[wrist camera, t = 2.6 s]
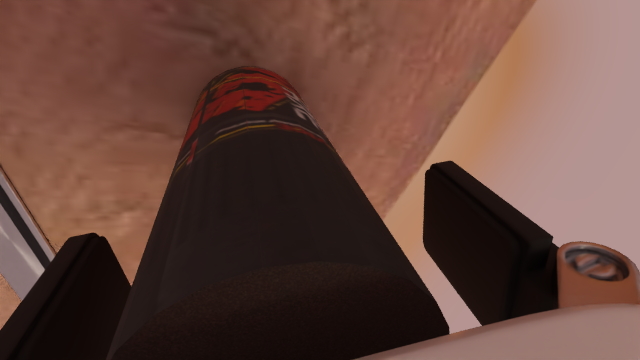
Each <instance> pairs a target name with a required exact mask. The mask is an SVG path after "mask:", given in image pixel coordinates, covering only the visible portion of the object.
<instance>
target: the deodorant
mask: <svg viewBox="0 0 640 360" xmlns="http://www.w3.org/2000/svg"><path fill="white" fill-rule="evenodd" d="M445 335H449V326H448V324H447V322H446V320H445V318H444V316H443V314H442V312H441V310H440V308H439V306H438V304H437V302H436V301H435V299H434V297H433V296H432V294H431V293H430V291H429V290H428V288H427V287H426V286H425V284H424V283H423V281H422V279H421V278H420V276H419V275H418V274H417V272H416V270H415V269H414V267H413V266H412V264H411V263H410V262H409V260H408V258H407V257H406V255H405V254H404V252H403V251H402V250H401V248H400V246H399V245H398V243H397V242H396V240H395V239H394V237H393V236H392V235H391V233H390V231H389V230H388V228H387V227H386V225H385V224H384V222H383V221H382V219H381V218H380V216H379V215H378V213H377V212H376V210H375V209H374V207H373V206H372V204H371V203H370V201H369V200H368V198H367V197H366V195H365V194H364V192H363V191H362V189H361V188H360V186H359V185H358V183H357V182H356V180H355V179H354V177H353V176H352V174H351V173H350V171H349V170H348V168H347V167H346V165H345V164H344V162H343V161H342V159H341V158H340V156H339V155H338V153H337V152H336V150H335V149H334V147H333V146H332V144H331V143H330V141H329V140H328V138H327V137H326V135H325V134H324V132H323V131H322V129H321V128H320V126H319V125H318V123H317V122H316V120H315V119H314V117H313V116H312V114H311V113H310V111H309V110H308V108H307V107H306V105H305V104H304V102H303V101H302V99H301V98H300V96H299V95H298V93H297V92H296V90H295V89H294V88H293V87H292V86H291V85H290V84H289V83H288V82H287V81H286V80H285V79H284V78H283V77H281V76H279V75H278V74H276V73H274V72H272V71H270V70H266V69H263V68H259V67H239V68H235V69H231V70H228V71H225V72H224V73H222V74H220V75H219V76H217V77H215V78H214V79H213V80H212V81H211V82H210V83H209V84H208V85H207V86H206V87H205V88H204V89H203V91H202V93H201V95H200V97H199V99H198V101H197V103H196V106H195V109H194V112H193V115H192V117H191V120H190V123H189V126H188V129H187V132H186V134H185V137H184V140H183V143H182V146H181V149H180V151H179V154H178V157H177V160H176V163H175V166H174V168H173V171H172V174H171V177H170V180H169V183H168V185H167V188H166V191H165V194H164V197H163V200H162V202H161V205H160V208H159V211H158V214H157V217H156V219H155V222H154V225H153V228H152V231H151V234H150V236H149V239H148V242H147V245H146V248H145V250H144V253H143V256H142V259H141V262H140V265H139V267H138V270H137V273H136V276H135V279H134V282H133V284H132V287H131V290H130V293H129V296H128V299H127V301H126V304H125V307H124V310H123V313H122V316H121V318H120V321H119V324H118V327H117V330H116V333H115V335H114V338H113V341H112V344H111V347H110V350H109V352H108V355H107V358H106V360H353V359H357V358H361V357H365V356H368V355H372V354H376V353H380V352H384V351H388V350H391V349H395V348H399V347H403V346H407V345H411V344H414V343H418V342H422V341H426V340H430V339H433V338H437V337H441V336H445Z"/></svg>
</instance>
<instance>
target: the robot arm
mask: <svg viewBox="0 0 640 360" xmlns="http://www.w3.org/2000/svg"><path fill="white" fill-rule="evenodd" d="M423 223H424V224H423V243H424V247H425V249H426V251H427V253H428V254H429V255H430V257H431V258H432V259H433V261H434V262H435V263H436V265H437V266H438V267H439V269H440V270H441V271H442V273H443V274H444V275H445V276H446V278H447V279H448V281H449V282H450V283H451V285H452V286H453V287H454V289H455V290H456V291H457V293H458V294H459V295H460V297H461V298H462V299H463V301H464V302H465V303H466V305H467V306H468V308H469V309H470V310H471V312H472V313H473V314H474V316H475V317H476V318H477V320H478V321H479V322H480V324H481V325H482V326H480V327H476V328H472V329H468V330H464V331H460V332H456V333H453V334H449V335H445V336H441V337H437V338H433V339H430V340H426V341H422V342H418V343H414V344H411V345H407V346H403V347H399V348H395V349H391V350H388V351H384V352H380V353H376V354H372V355H368V356H365V357H361V358H357V359H353V360H640V272H639V270H638V269H637V267H636V265H635V264H634V263H633V262H632V261H631V260H630V259H629V258H628V257H626V256H625V255H623V254H621V253H620V252H618V251H616V250H613V249H611V248H609V247H606V246H603V245H600V244H596V243H590V242H581V241H580V242H570V243H567V244H564V245H562V246H561V247H560V248H559V247H557V246H556V245H555V244H553V243H552V240H553V236H551V235H550V234H549V233H547V232H546V231H545V230H543V229H542V228H541V227H539V226H538V225H537V224H535V223H534V222H533V221H531V220H530V219H529V218H527V217H526V216H525V215H523V214H522V213H521V212H519V211H518V210H517V209H515V208H514V207H513V206H511V205H510V204H509V203H507V202H506V201H505V200H503V199H502V198H501V197H499V196H498V195H497V194H495V193H494V192H493V191H491V190H490V189H489V188H487V187H486V186H485V185H483V184H482V183H481V182H479V181H478V180H477V179H475V178H474V177H473V176H471V175H470V174H469V173H467V172H466V171H465V170H463V169H462V168H461V167H459V166H458V165H457V164H455V163H454V162H453V161H446V162H440V163H436V164H432V165H431V167H430V169H429V170H427V171H426V173H425V191H424V221H423ZM130 290H131V285H130V283H129V281H128V279H127V277H126V275H125V274H124V272H123V270H122V268H121V266H120V264H119V262H118V260H117V258H116V256H115V254H114V252H113V250H112V248H111V246H110V244H109V243H108V241H107V239H106V238H105V237H103V236H100V237H99V235H97V234H96V233H89V234H84V235H79V236H74V237H70V238H69V239H68V240H67V241H66V242H65V243H64V245H63V246H62V248H61V249H60V250H59V252H58V253H57V254H56V256H55V257H54V258H53V260H52V261H51V262H50V264H49V265H48V266H47V268H46V269H45V271H44V272H43V273H42V275H41V276H40V277H39V279H38V280H37V281H36V283H35V284H34V285H33V287H32V288H31V290H30V291H29V292H28V294H27V295H26V296H25V298H24V299H23V300H22V302H21V303H20V304H19V306H18V307H17V309H16V310H15V311H14V313H13V314H12V315H11V317H10V318H9V319H8V321H7V322H6V323H5V325H4V326H3V327H2V329H1V330H0V360H106V358H107V355H108V352H109V350H110V347H111V344H112V341H113V338H114V335H115V333H116V330H117V327H118V324H119V321H120V318H121V316H122V313H123V310H124V307H125V304H126V301H127V299H128V296H129V293H130Z"/></svg>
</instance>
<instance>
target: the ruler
mask: <svg viewBox="0 0 640 360" xmlns="http://www.w3.org/2000/svg"><path fill="white" fill-rule="evenodd" d="M55 256H56V253H55V252H54V250H53V249H52V247H51V246H50V244H49V242H48V241H47V239H46V238H45V236H44V235H43V233H42V231H41V230H40V228H39V227H38V225H37V224H36V222H35V220H34V219H33V217H32V216H31V214H30V212H29V211H28V209H27V208H26V206H25V205H24V203H23V201H22V200H21V198H20V197H19V195H18V194H17V192H16V190H15V189H14V187H13V186H12V184H11V183H10V181H9V179H8V178H7V176H6V175H5V173H4V172H3V170H2V168H1V167H0V273H1V274H2V275H3V277H4V278H5V279H6V281H7V282H8V283H9V285H10V286H11V287H12V289H13V290H14V291H15V292H16V294H17V295H18V296H19V298H20V299H21V300H23V299H24V298H25V296H26V295H27V294H28V292H29V291H30V290H31V288H32V287H33V285H34V284H35V283H36V281H37V280H38V279H39V277H40V276H41V275H42V273H43V272H44V271H45V269H46V268H47V266H48V265H49V264H50V262H51V261H52V260H53V258H54V257H55Z"/></svg>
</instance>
